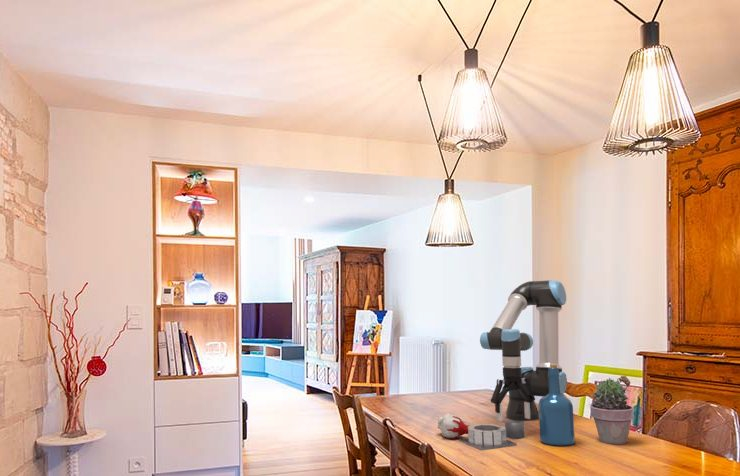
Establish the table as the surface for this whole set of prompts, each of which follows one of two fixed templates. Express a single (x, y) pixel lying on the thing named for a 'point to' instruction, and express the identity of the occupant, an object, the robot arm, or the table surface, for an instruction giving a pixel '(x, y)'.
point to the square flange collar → (487, 437)
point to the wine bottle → (556, 414)
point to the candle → (452, 426)
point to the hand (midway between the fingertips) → (513, 419)
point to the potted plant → (612, 411)
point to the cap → (514, 429)
